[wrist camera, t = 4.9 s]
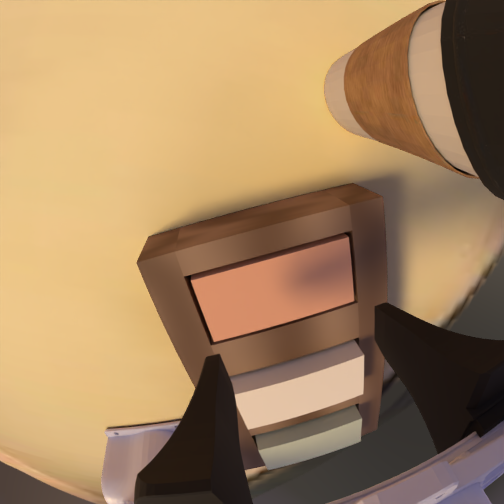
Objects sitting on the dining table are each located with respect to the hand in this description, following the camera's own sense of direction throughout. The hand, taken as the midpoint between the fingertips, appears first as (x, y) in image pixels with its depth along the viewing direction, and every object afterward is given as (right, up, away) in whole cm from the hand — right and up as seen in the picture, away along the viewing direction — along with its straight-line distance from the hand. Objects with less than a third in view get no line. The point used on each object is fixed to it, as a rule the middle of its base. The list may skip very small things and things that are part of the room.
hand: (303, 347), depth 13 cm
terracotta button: (-1, +3, +8) cm, 9 cm away
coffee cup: (+5, +15, +5) cm, 16 cm away
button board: (+1, -4, +11) cm, 12 cm away
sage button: (+3, -11, +13) cm, 18 cm away
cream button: (+1, -4, +10) cm, 11 cm away
